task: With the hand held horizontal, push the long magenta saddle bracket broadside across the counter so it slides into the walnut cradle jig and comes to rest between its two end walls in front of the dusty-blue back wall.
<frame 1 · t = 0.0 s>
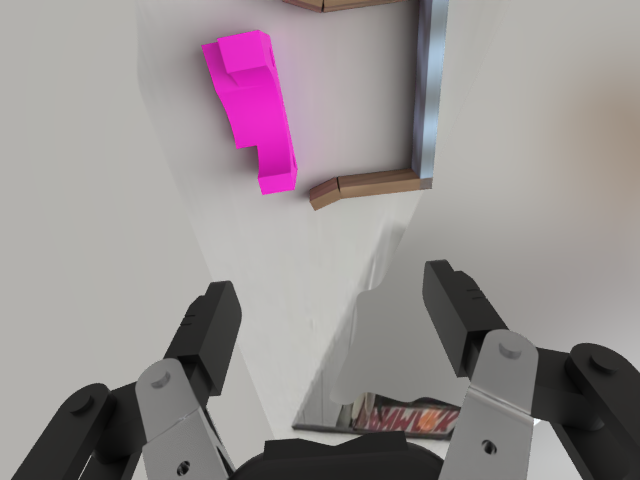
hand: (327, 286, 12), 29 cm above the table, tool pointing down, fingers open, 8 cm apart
cradle: (381, 99, 35), on the table
magenta saddle bracket: (260, 113, 36), on the table
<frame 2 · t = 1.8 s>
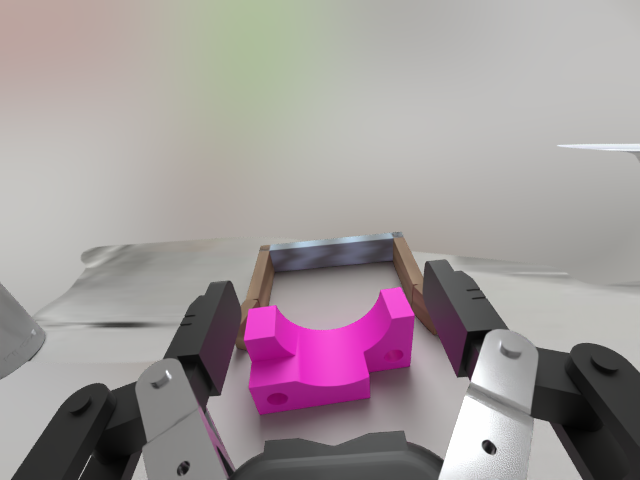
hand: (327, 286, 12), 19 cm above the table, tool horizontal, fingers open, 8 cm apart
cradle: (334, 283, 41), on the table
magenta saddle bracket: (335, 374, 30), on the table
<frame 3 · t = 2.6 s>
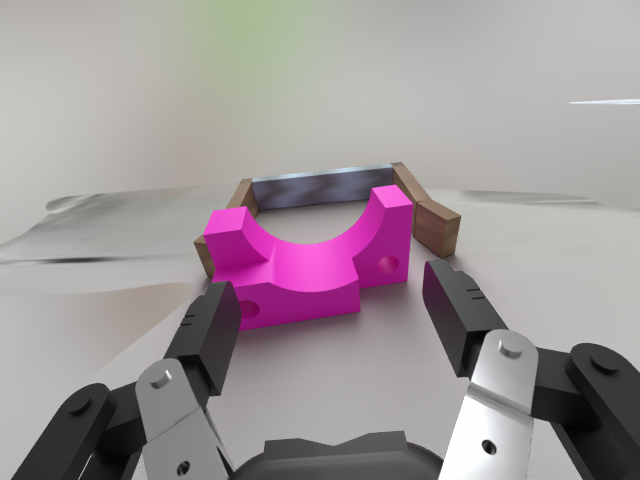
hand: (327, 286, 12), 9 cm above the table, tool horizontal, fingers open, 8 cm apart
cradle: (325, 217, 36), on the table
magenta saddle bracket: (319, 293, 25), on the table
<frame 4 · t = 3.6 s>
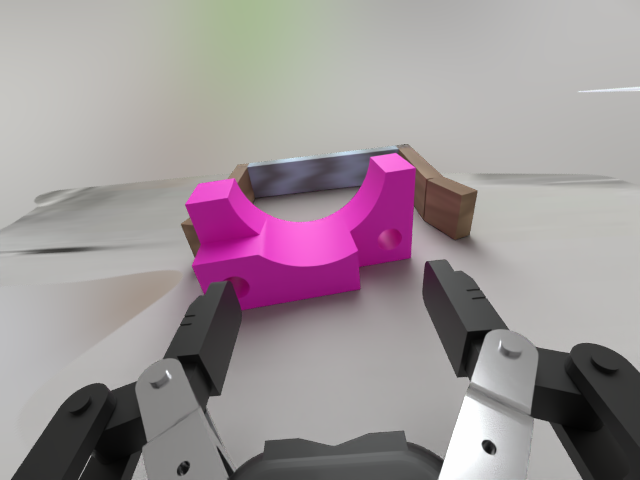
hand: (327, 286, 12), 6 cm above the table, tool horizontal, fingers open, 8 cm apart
cradle: (326, 203, 33), on the table
magenta saddle bracket: (316, 273, 23), on the table
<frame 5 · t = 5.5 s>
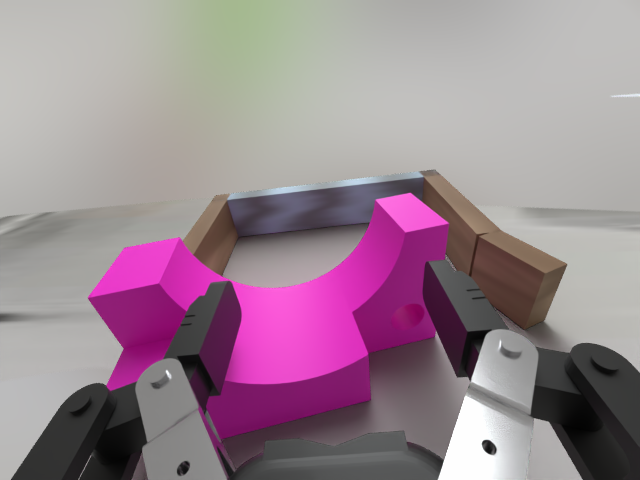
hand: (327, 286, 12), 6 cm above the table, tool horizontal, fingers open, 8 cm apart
cradle: (330, 249, 25), on the table
magenta saddle bracket: (304, 363, 17), on the table, touching gripper
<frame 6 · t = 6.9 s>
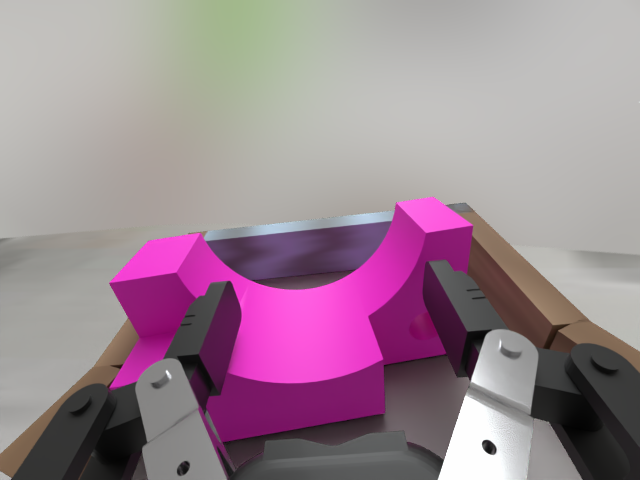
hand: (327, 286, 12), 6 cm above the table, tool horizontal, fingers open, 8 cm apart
cradle: (333, 309, 20), on the table
magenta saddle bracket: (317, 368, 16), on the table
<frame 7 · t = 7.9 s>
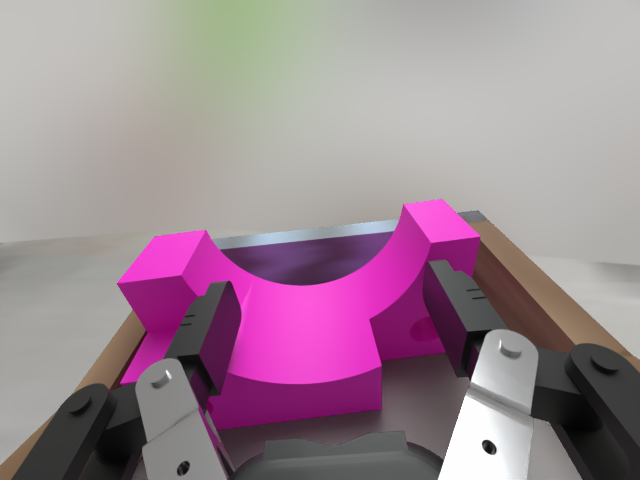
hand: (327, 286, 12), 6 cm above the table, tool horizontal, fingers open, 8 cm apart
cradle: (335, 327, 18), on the table
magenta saddle bracket: (318, 363, 17), on the table
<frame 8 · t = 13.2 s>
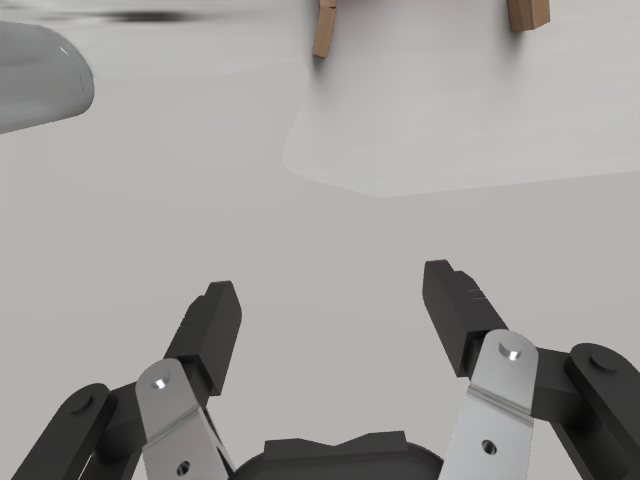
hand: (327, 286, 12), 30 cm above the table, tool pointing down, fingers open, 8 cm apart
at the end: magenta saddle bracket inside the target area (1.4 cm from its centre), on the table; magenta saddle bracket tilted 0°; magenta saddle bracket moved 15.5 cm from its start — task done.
